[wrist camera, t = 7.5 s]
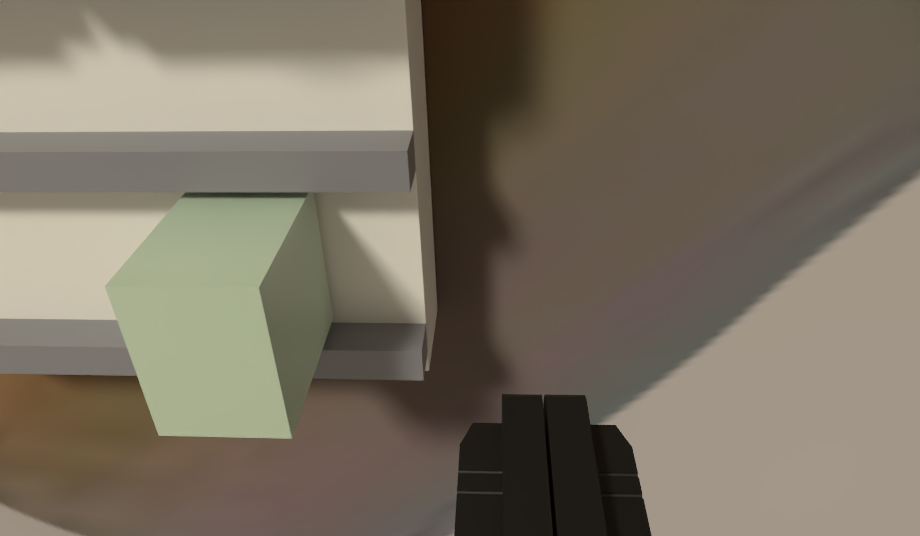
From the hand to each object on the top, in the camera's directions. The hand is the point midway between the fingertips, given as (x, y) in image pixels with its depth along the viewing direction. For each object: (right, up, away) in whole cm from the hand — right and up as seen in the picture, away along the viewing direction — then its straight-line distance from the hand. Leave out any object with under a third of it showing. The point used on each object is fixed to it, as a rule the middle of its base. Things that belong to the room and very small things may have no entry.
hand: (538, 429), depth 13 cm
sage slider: (-6, +3, +5) cm, 9 cm away
